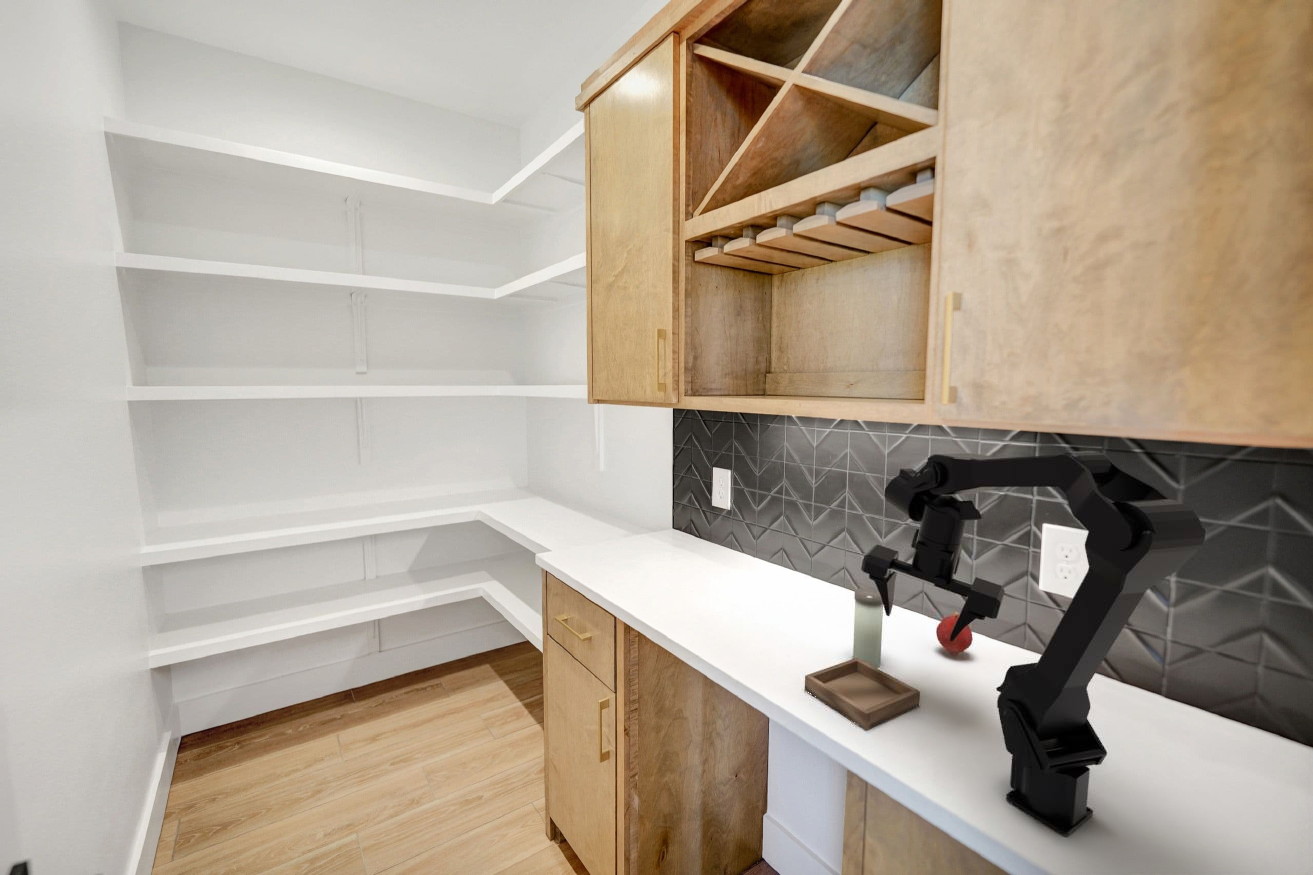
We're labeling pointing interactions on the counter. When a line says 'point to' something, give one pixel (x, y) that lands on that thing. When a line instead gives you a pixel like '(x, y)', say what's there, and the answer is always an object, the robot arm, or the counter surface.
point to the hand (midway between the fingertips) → (919, 626)
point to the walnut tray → (862, 692)
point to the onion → (945, 632)
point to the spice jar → (868, 626)
